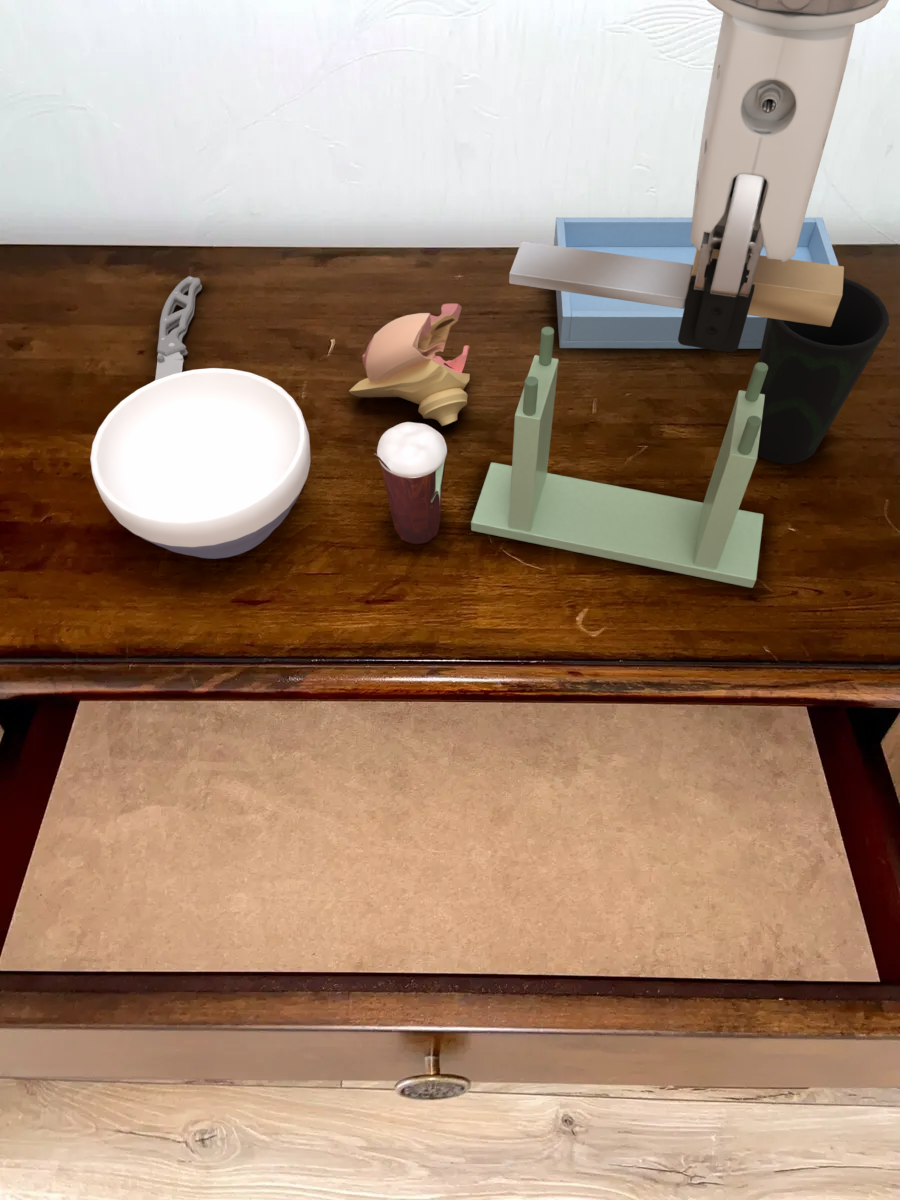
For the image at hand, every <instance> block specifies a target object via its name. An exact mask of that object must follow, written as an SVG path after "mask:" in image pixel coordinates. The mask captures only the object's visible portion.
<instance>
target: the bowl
mask: <svg viewBox="0 0 900 1200" xmlns="http://www.w3.org/2000/svg"><path fill="white" fill-rule="evenodd" d="M310 441H311V440H310V433H309V430H308V427H307V423H306V421H305V418H304V416H303V412H302V410H301V408H300V407H299V405H298V404H297V402H296V401H295V399H294V398H293V397H292V395H290V394H289V392H287V391H286V390H285V389H284V388H283V387H282V386H280V385H278V384H276V383H275V382H273V381H272V380H270V379H269V378H266V377H263V376H260V375H259V374H255V373H252V372H250V371H244V370H239V369H233V368H219V367H210V368H209V367H208V368H199V369H198V368H197V369H190V370H186V371H185V370H184V371H182V372H181V373H176V374H172V375H169V376H167V377H164V378H161V379H158V380H156V381H155V380H153V381H151V382H150V383H148V384H146V385H144V386H142V387H140V388H138V389H136V390H135V391H133V392H132V393H131V394H129V395H128V396H127V397H125V398H124V399H122V400H121V401H120V402H119V403H118V404H117V405H116V406H115V407H114V408H113V409H112V410H111V411H110V412H109V413H108V414H107V416H106V417H105V419H104V420H103V421H102V423H101V424H100V426H99V427H98V429H97V432H96V434H95V436H94V439H93V441H92V445H91V451H90V458H89V460H90V461H89V462H90V467H91V468H90V469H91V475H92V477H93V481H94V484H95V487H96V489H97V491H98V494H99V496H100V498H101V501H102V502H103V503H104V505H105V506H106V508H107V510H108V511H109V513H110V514H111V515H112V516H113V517H114V518H115V519H116V520H117V522H118V523H119V524H120V525H122V526H123V527H124V528H126V529H127V530H128V531H129V532H130V533H132V534H134V535H135V536H138V537H140V538H141V539H143V540H144V541H147V542H149V543H152V544H154V545H156V546H158V547H160V548H163V549H166V550H168V551H170V552H173V553H176V554H181V555H184V556H185V555H186V556H191V557H196V558H201V559H211V560H212V559H214V560H216V559H227V558H231V557H235V556H239V555H241V554H244V553H246V552H248V551H251V550H252V549H254V548H255V547H257V546H259V545H260V544H262V543H263V542H264V541H265V540H266V539H267V538H269V537H270V535H271V534H272V533H273V532H274V531H275V530H276V529H277V528H278V527H279V526H280V525H281V524H282V523H283V522H284V520H285V519H286V517H287V516H288V515H289V513H290V511H291V509H292V508H293V507H294V505H295V504H296V502H297V500H298V498H299V496H300V494H301V492H302V490H303V488H304V485H305V483H306V481H307V479H308V476H309V472H310V467H311V464H312V463H311V443H310Z"/></svg>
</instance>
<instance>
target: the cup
mask: <svg viewBox="0 0 900 1200" xmlns="http://www.w3.org/2000/svg"><path fill="white" fill-rule="evenodd" d="M889 325H890V315H889V312H888V309H887V307H886V305H885V304H884V302H883V301H882V300H881V299H880V297H879V296H878V295H877V294H876V293H874V292H873V291H872V290H870V288H868V287H866V286H864V285H863V284H861V283H859V282H856V281H854V280H852V279H848V278H846V277H843V294H842V298H841V300H840V303H839V306H838V308H837V311H836V314H835V317H834V319H833V322H832V325H831V326H830V327H828V326H821V325H814V324H807V323H800V322H793V321H787V320H780V319H773V318H767V322H766V327H765V332H764V337H763V342H762V347H761V349H760V352H759V357H758V361H757V363H759V362H762V363H765V364H766V365H767V366H768V371H767V374H766V377H765V380H764V382H763V385H762V388H761V391H760V394H764V395H765V398H764V406H763V415H762V423H761V431H760V439H759V447H758V455H757V456H759V457H760V458H762V459H764V460H766V461H769V462H772V463H775V464H782V465H783V464H784V465H791V464H793V465H794V464H798V463H801V462H804V461H806V460H808V459H809V458H811V457H812V456H813V455H814V454H815V452H817V449H818V448H819V446H820V444H821V442H822V441H823V439H824V437H825V436H826V434H827V432H828V430H829V429H830V427H831V425H832V424H833V422H834V420H835V419H836V417H837V415H838V414H839V412H840V410H841V408H842V407H843V405H844V404H845V402H846V400H847V398H848V397H849V395H850V394H851V392H852V390H853V389H854V387H855V385H856V383H857V381H858V380H859V378H860V376H861V375H862V373H863V372H864V370H865V368H866V366H867V365H868V364H869V361H870V360H871V358H872V356H873V354H874V353H875V351H876V349H878V347H879V345H880V343H881V341H882V340H883V338H884V336H885V334H886V332H887V330H888V328H889Z"/></svg>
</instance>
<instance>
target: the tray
mask: <svg viewBox="0 0 900 1200" xmlns="http://www.w3.org/2000/svg"><path fill="white" fill-rule="evenodd" d="M691 227H692V217H560V216H559V217H556V218H555V227H554V237H553V245H554V246H561V247H568V248H576V249H583V250H590V251H597V252H605V253H612V254H619V255H626V256H634V257H641V258H648V259H655V260H663V261H670V262H677V263H684V264H692V265H693V263H694V258H695V254H696V248H695V247H694V245H693V244H692V242H691V241H690V237H691ZM760 255H762V256H767V255H766V250H765V245H764V242H763V248H762V250H761V253H760ZM790 259H792V260H799V261H807V262H814V263H821V264H829V265H836V266H840V265H839V262H838V259H837V256H836V253H835V250H834V248H833V244H832V242H831V238H830V236H829V233H828V229H827V227H826V224H825V220H824V218H823V217H817V216H816V217H805V218H804V222H803V225H802V229H801V233H800V237H799V241H798V244H797V248H796V252H795V255H794V256H793V257H792V258H790ZM555 297H556V299H555V300H556V315H557V329H558V330H557V331H558V345H559V349H694V350H695V349H698V350H699V349H700V350H701V349H705V348H698V347H692V346H685V345H682V344H680V343H679V342H678V336H679V331H680V326H681V322H682V317H683V312H684V309H680V308H673V307H666V306H660V305H653V304H646V303H639V302H632V301H625V300H619V299H612V298H605V297H598V296H591V295H584V294H578V293H571V292H564V291H557V290H555ZM684 307H685V306H684ZM766 322H767V318H766V317H759V316H752V315H747V318H746V321H745V325H744V329H743V332H742V336H741V339H740V343H739V346H738V349H737V350H761V347H762V342H763V337H764V332H765V327H766ZM705 350H706V349H705Z"/></svg>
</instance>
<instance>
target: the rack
mask: <svg viewBox="0 0 900 1200" xmlns="http://www.w3.org/2000/svg"><path fill="white" fill-rule="evenodd" d="M554 337H555V330H554V328H553V327H551V326H544V327H542V328H541V331H540V341H539V342H540V343H539V352H538V354H535V355H534V356H533V358H532V361H531V365H530V368H529V371H528V374H527V376H526V377H525V379H524V385H523V389H522V391H521V395H520V398H519V401H518V404H517V407H516V410H515V413H514V424H513V441H512V442H513V443H512V459H511V465H509V464H503V463H498V462H490V463H489V467H488V470H487V473H486V476H485V479H484V482H483V485H482V488H481V491H480V494H479V497H478V499H477V503H476V506H475V509H474V511H473V514H472V518H471V521H470V530H471V532H477V533H482V534H485V535H492V536H495V537H496V536H497V537H500V538H501V537H502V538H505V539H511V540H515V541H520V542H525V543H530V544H534V545H535V544H536V545H540V546H545V547H550V548H555V549H559V550H565V551H569V552H575V553H579V554H583V555H589V556H593V557H598V558H603V559H608V560H614V561H617V562H623V563H628V564H632V565H638V566H643V567H646V568H647V567H648V568H652V569H657V570H662V571H666V572H673V573H677V574H682V575H687V576H691V577H695V578H701V579H707V580H711V581H716V582H722V583H725V584H730V585H735V586H739V587H746V588H750V589H752V588H754V586H755V584H756V581H757V577H758V568H759V559H760V552H761V551H760V549H761V542H762V541H761V540H762V533H763V532H762V531H763V525H764V514H763V513H759V512H753V511H748V510H742V509H740V506H741V504H742V501H743V498H744V497H745V496H744V495H745V493H746V491H747V488H748V484H749V482H750V480H751V478H752V474H753V472H754V468H755V466H756V463H757V461H758V456H759V455H758V447H759V439H760V431H761V423H762V415H763V406H764V398H765V395H764V394H760V391H761V388H762V385H763V382H764V380H765V377H766V374H767V371H768V366H767V365H766V364H765V363H762V362H759V363H758V362H756V363H755V364H754V367H753V370H752V373H751V376H750V378H749V381H748V385H747V388H746V390H741V389H740V390H738V392H737V394H736V398H735V401H734V405H733V408H732V411H731V414H730V417H729V420H728V424H727V427H726V429H725V433H724V436H723V440H722V442H721V446H720V449H719V452H718V455H717V458H716V462H715V465H714V466H713V467H714V468H713V470H712V474H711V477H710V479H709V483H708V487H707V489H706V493H705V496H704V499H703V502H701V501H696V500H691V499H686V498H680V497H676V496H670V495H666V494H661V493H660V494H659V493H654V492H650V491H643V490H639V489H634V488H628V487H623V486H619V485H612V484H607V483H602V482H597V481H592V480H587V479H582V478H576V477H571V476H566V475H561V474H555V473H551V472H550V473H549V472H548V467H549V466H548V465H549V459H550V448H551V439H552V438H551V437H552V428H553V419H554V411H555V410H554V408H555V401H556V400H555V399H556V390H557V389H556V388H557V381H558V369H559V361H560V360H559V358H554V357H553V350H554V349H553V348H554V339H555V338H554Z"/></svg>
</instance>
